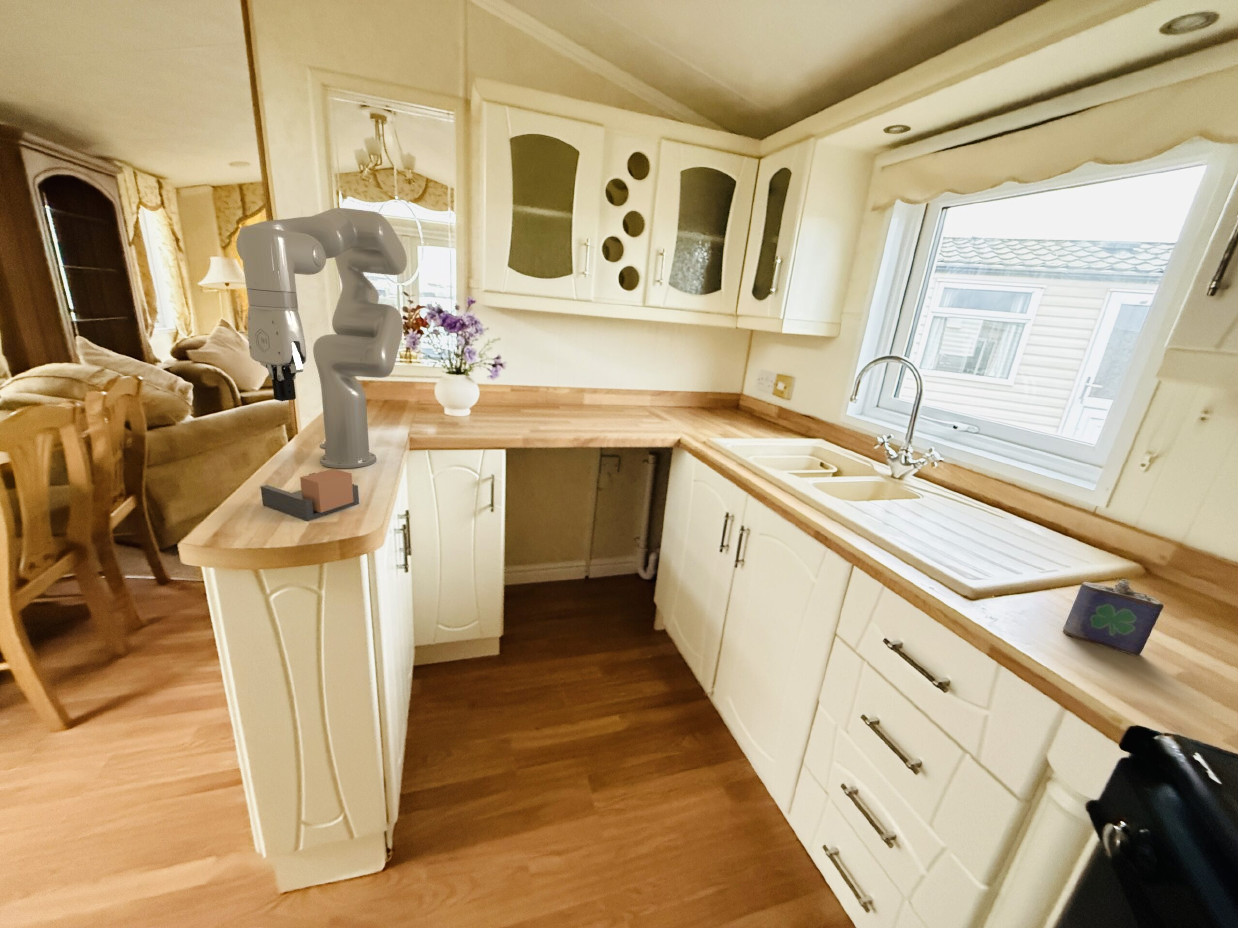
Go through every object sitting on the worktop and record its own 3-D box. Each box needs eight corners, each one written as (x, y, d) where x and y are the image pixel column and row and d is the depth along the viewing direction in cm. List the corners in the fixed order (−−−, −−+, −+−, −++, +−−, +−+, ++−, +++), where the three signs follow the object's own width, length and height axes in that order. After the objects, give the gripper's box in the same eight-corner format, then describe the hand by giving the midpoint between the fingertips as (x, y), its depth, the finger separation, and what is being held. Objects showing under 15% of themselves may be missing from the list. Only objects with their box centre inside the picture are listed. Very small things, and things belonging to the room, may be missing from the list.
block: (303, 506, 95) (300, 477, 93) (336, 496, 101) (334, 468, 100) (320, 512, 93) (318, 482, 91) (353, 501, 99) (351, 473, 98)
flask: (1064, 635, 78) (1088, 574, 75) (1059, 626, 80) (1083, 567, 77) (1143, 659, 73) (1173, 595, 70) (1136, 648, 76) (1164, 587, 73)
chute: (262, 505, 97) (260, 486, 96) (316, 490, 107) (314, 472, 106) (307, 521, 92) (305, 501, 91) (359, 503, 102) (357, 485, 101)
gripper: (225, 296, 90) (240, 396, 96) (279, 304, 84) (291, 409, 90) (267, 298, 96) (279, 391, 102) (320, 305, 91) (329, 403, 97)
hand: (285, 399), depth 96 cm, fingers closed
